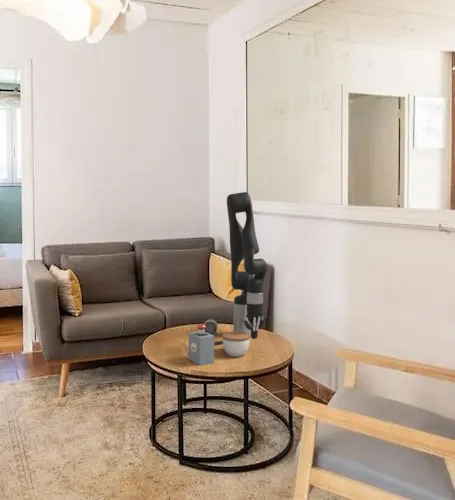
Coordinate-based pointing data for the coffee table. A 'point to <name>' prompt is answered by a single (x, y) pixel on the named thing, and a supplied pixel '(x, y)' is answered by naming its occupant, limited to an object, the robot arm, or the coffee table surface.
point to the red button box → (201, 348)
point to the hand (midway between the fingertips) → (254, 338)
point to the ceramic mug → (211, 326)
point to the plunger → (201, 329)
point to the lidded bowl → (236, 343)
